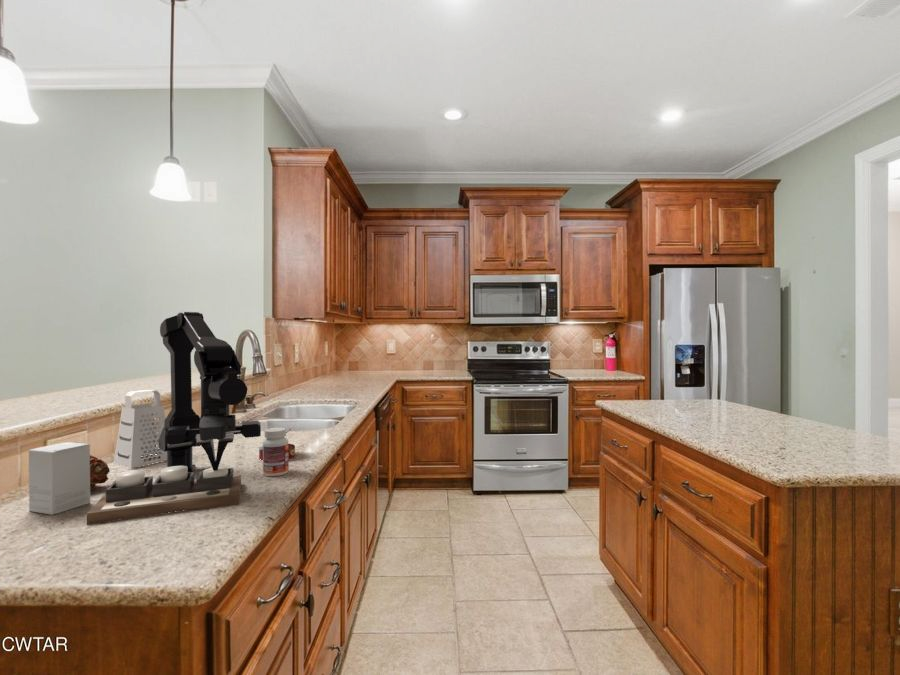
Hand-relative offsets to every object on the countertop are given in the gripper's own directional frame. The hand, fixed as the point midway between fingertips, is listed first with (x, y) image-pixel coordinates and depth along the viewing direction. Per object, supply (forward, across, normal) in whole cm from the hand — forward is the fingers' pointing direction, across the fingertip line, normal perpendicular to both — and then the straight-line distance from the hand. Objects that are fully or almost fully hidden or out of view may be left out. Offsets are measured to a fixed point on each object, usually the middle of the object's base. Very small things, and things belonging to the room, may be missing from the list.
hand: (215, 470), depth 102 cm
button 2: (+2, 0, 0) cm, 2 cm away
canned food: (+6, +14, +28) cm, 32 cm away
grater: (+6, -21, +38) cm, 44 cm away
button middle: (+1, -8, 0) cm, 8 cm away
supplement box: (+6, -29, +4) cm, 30 cm away
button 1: (+1, -16, 0) cm, 16 cm away
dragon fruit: (+6, -29, +15) cm, 33 cm away
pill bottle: (+6, +13, +11) cm, 18 cm away
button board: (+5, -8, -2) cm, 10 cm away
